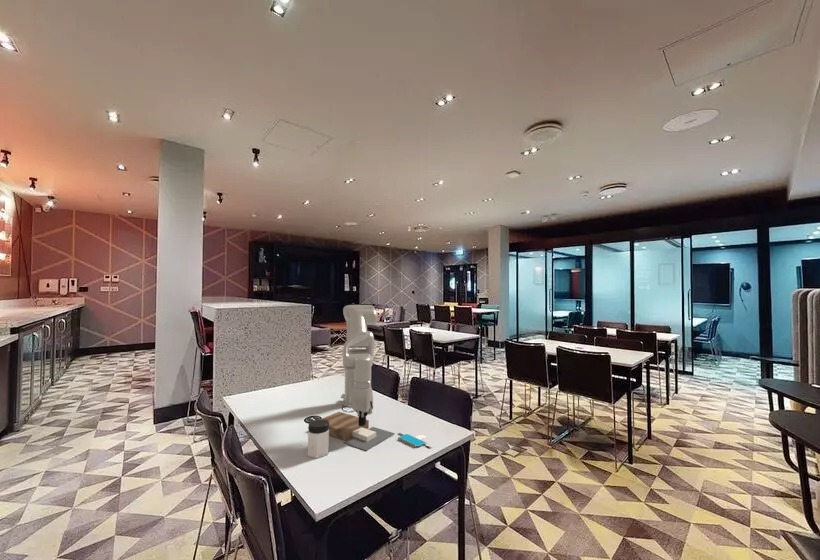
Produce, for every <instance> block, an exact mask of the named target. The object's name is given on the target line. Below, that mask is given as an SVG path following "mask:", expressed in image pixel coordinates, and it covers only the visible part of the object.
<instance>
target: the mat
mask: <svg viewBox="0 0 820 560" xmlns="http://www.w3.org/2000/svg"><path fill="white" fill-rule="evenodd" d="M368 430H371V431H374V432H376V437H375V438H373V439H371V440H369V441H365V440H362V439H359V438H356V437H351V438H349V439H347V440H346V441H343V444H345V445H347V446H350V447H353V448H356V449H359V450H361V451H364V452H367V451H369V450H371V449H372V448H374V447H376V446H377V445H379V444H381V443H382V442H384V441H385V440H387V439H389V438H391V437H393V436H395V432H391V431H388V430H385V429H382V428H379V427H375V426H371V427H369V429H368Z"/></svg>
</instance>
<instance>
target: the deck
mask: <svg viewBox="0 0 820 560" xmlns="http://www.w3.org/2000/svg"><path fill="white" fill-rule="evenodd" d="M320 419H323V420H327V421H329V437H330V436H331V437H334V438H336V439H339V440H341V441H343V442H345V441H346V440H348V439H350V438H352V437H353V436H352V432H353V431H355V430H357V429H359V428H361V427H362V428H365V429H370V427H369V426H370V425H369V424H370V423H369V422H370V421H369V419H367V418H366V425H364V426H359V417H358V416H356V415H351V414H349V413H345V412H342V411H337V412H334V413H331V414H330V415H326V416H324V417H322V418H319V419H318V420H320Z"/></svg>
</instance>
